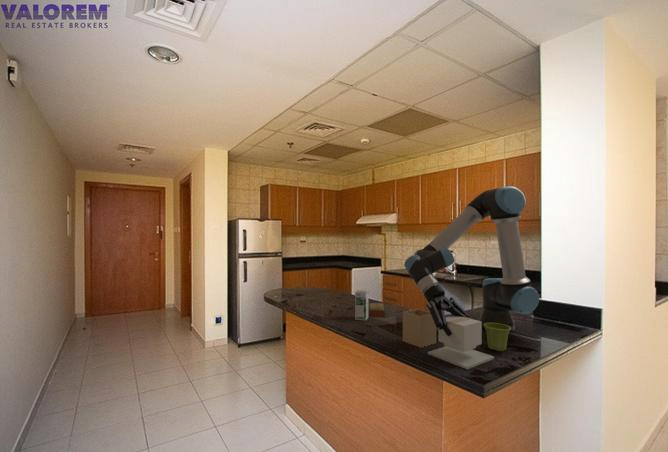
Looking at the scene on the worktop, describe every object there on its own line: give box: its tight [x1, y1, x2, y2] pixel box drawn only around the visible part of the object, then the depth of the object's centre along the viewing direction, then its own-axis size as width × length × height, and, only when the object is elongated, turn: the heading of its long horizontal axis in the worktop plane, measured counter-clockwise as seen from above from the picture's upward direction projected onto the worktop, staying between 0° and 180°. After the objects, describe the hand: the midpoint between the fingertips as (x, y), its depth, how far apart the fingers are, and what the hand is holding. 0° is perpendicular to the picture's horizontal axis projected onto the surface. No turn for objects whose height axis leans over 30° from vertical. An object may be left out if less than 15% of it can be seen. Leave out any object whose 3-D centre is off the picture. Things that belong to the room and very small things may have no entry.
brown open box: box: [402, 308, 437, 349], centre depth 131 cm, size 9×9×12 cm
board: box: [427, 346, 495, 370], centre depth 116 cm, size 16×16×1 cm
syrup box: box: [354, 289, 369, 322], centre depth 166 cm, size 6×6×14 cm
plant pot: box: [484, 323, 511, 352], centre depth 124 cm, size 9×9×9 cm
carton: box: [368, 302, 386, 318], centre depth 178 cm, size 8×16×4 cm, turn 176°
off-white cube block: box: [438, 315, 483, 352], centre depth 116 cm, size 10×10×10 cm
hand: (467, 340), depth 114 cm, fingers closed on off-white cube block, 10 cm apart
